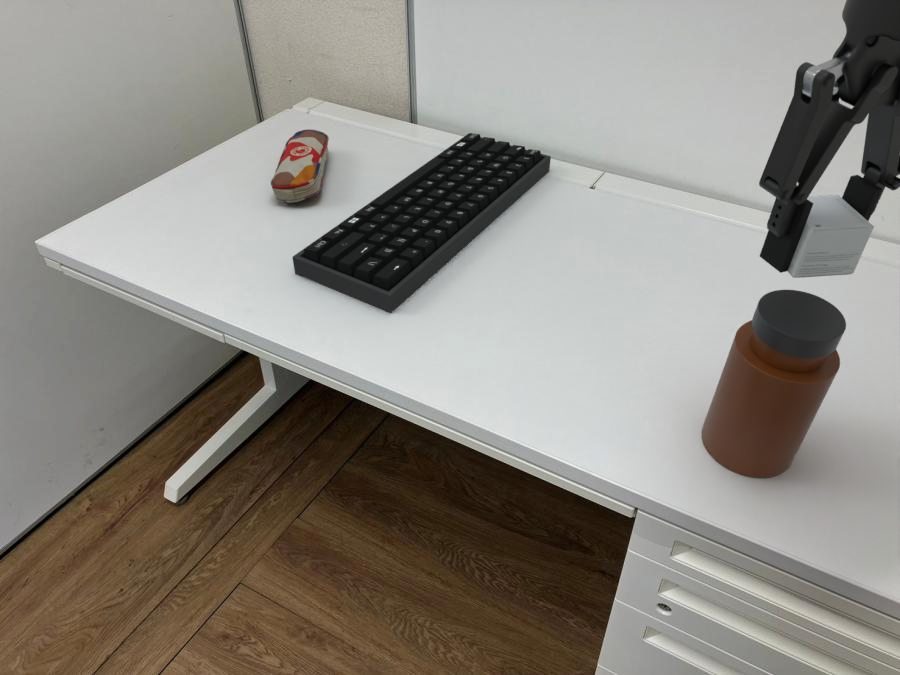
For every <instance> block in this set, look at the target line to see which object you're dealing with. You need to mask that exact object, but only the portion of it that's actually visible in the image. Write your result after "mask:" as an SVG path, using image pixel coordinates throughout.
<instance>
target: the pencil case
mask: <svg viewBox="0 0 900 675" xmlns="http://www.w3.org/2000/svg"><path fill="white" fill-rule="evenodd" d="M329 140H330V139H329V136H328V134H327V133H325V132H324V131H320V130H317V129H309V128H308V129H307V128H306V129H302V130H298V131H296V132H295V133H294V134H293V135H292V136H290V138H288V139H287V141H286V142H285V145H284V147H283V150H282V153H281V155H280V157H279V161H278V164H277V167H276V169H275V172H274V174H273V177H272V178H271V180H270V186H271V189H272V191H273V194H274V196H275V198H276V199H277V200H278V201H280V202H283V203H287V204H295V203H298V202H301V201H304V200H307V199H310V198H312V197H314V196H316V195H317V194H318V193H320V192H321V189H322V187H323V178H324V171H325V166H326V162H327V160H328V157H329V147H328V145H329Z"/></svg>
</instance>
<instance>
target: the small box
mask: <svg viewBox="0 0 900 675" xmlns="http://www.w3.org/2000/svg"><path fill="white" fill-rule="evenodd" d="M807 200H809V201H810V202H812V203H814V204H813V206H812V209H811V211H810V214H809V217H808V219H807V222H806V224H805V227H804V230H803V232H802V235H801V237H800V240H799V243H798V245H797V248H796V251H795V253H794V256H793V258H792V261H791V264H790V266H789V269H788V271H787V273H788V274H789V275H790V276H791V278H792V279H793V278H794V279H797V278H799V279H800V278H802V279H803V278H814V277H815V278H816V277H831V276H833V277H834V276H847V275H853V274H854V273H855V271H856V268H857V266H858V265H859V262H860V259H861V257H862V255H863V252H864V250H865V248H866V246H867V243H868V241H869V239H870V237H871V235H872V233H873V230H874V228H875V226H874V224H872V223H871V222H869V221H867V220H866V219H865V218H864V217H863V216H862V215H860V214H859V213H858V212H857V211H856V210H855V209H854V208H852V207H851V206H850V205H849V204H848V203H847V202H846V201H845V200H844V199H842V196H841V195H839V194H822V195H809V196H808V198H807Z"/></svg>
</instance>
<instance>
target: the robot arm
mask: <svg viewBox="0 0 900 675" xmlns="http://www.w3.org/2000/svg"><path fill="white" fill-rule="evenodd" d="M841 19H842V20H843V23H844V25H845V30H846V31H845V35H844V38H843V40H842V42H841V43H840V45H839V46H838V48H837V49H836V50H835V52H834V53H833V55H832V58H831V59H830V60H826V61H825V62H823V63H820V64H818V65H815V64H813V63H810V62H808V61H806V62H803V63H801V64H800V65H799V66H798V68H797V70H796V72H795V79H794V89H793V96H792V99H791V101H790V103H789V106H788V109H787V111H786V113H785V116H784V118H783V121H782V124H781V126H780V127H779V128H780V129H779V131H778V133H777V136H776V139H775V141H774V143H773V146H772V149H771V151H770V154H769V157H768V158H767V162H766V163H765V167H764V169H763V172H762V174H761V177H760V179H759V182H758V185H759V187H760V188H761V189H763V190H764V191H766V192H767V193H769V194H771V195H772V196H773V197H775V200H774V203H773V204H772V205H773V206H772V208H771V211H770V214H769V218H768V220H767V222H766V229H767V233H766V236H765V239H764V243H763V244H762V248H761V250H760V253H759V257H760V258H761V259H762V260H763V261H764V262H765V263H767V264H768V265H769V266H771V267H772V268H774V269H775V270H776V271H778V272H779V273H786V272H788V269H789V266H790V264H791V261H792V258H793V256H794V253H795V251H796V248H797V245H798V243H799V240H800V237H801V235H802V232H803V230H804V227H805V224H806V222H807V219H808V217H809V214H810V211H811V209H812V206H813V204H814V203H812V202H810V201H809V200H807V198H808V196H811V194H812V192H813V190H814V188H815V187H816V186H817V184H818V183H819V181H820V179H821V178H822V176H823V175H824V173H825V172H826V170H827V168H828V167H829V165H830V164H831V163H832V161H833V159H834V157H835V155H836V154H837V153H838V151H839V149H840V148H841V146H842V145H843V143H844V142H845V140H846V139H847V137H848V136H849V134H850V132H851V131H852V130H853V128H854V127H855V126H856V125H860V124H862V123H863V122H864V121H865V120H866V118H867V121H866V122H867V123H866V130H865V138H864V145H863V154H862V159H861V168H860V173H861V174H862V175H863V176H862V175H859V174H854V175H851V176H850V177H849V179H848V182H847V184H846V187H845V189H844V190H843V191H844V192H843V194H842V196H841V198H842V199H844V200H845V201H846V202H847V203H848V204H849V205H850V206H851V207H852V208H854V209H855V210H856V211H857V212H858V213H859V214H860V215H862V216H863V217H864V218H865V219H866V220H867V221H868V222H869V220H870V218H871V217H872V215H873V213H875V212H876V209H877V207H878V204H879V202H880V200H881V198H882V195H883V193H884V191H885V189H886V188H887V189H888V190H891V191H897V190H898V189H899V188H900V177H898V176H900V0H846V1H845V4H844V6H843V9H842V12H841ZM840 100H841V102H844V103H846V104H848V105H850V106H852V107H849V106H846V105H845V104H842V103H841V102H840Z"/></svg>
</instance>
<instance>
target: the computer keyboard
mask: <svg viewBox="0 0 900 675" xmlns="http://www.w3.org/2000/svg"><path fill="white" fill-rule="evenodd" d="M551 158H552V157H551V155H549V154H548V155H547V154H544V153H542V151H541V150H537V149H533V148H532V149H531V148H528V149H526V147H525V146H524V145H517V144H513V145H511V144H510V142H509V141H503V140H497V141H496V138H494V137H488V136H483V137H481V134H480V133H474V132H473V133H472V132H468V133H467V134H465V135H464V136H463V137H461V138H460V139H458V140H457V141H456V142H454V143H453V144H452V145H450V146H449V147H447V148H446V149H444V150H443V151H441V152H440V153H439V154H437V155H436V156H434V157H433V158H432V159H430V160H429V161H427V162H426V163H424V164H423V165H421V166H420V167H418V168H417V169H416V170H414V171H413V172H412V173H411V174H409V175H406V177H405V178H403V179H402V180H400V181H398V182H397V183H396V184H394V185H393V186H391V187H390V188H389V189H387V190H386V191H384V192H383V193H382V194H380V195H379V196H378V197H375V198H374V199H373V200H371V201H370V202H368V203H367V204H366V205H364V206H363V207H362V208H360V209H358V210H357V211H356V212H354V213H353V214H352V215H350V216H349V217H347V218H346V219H343V221H341V222H340V223H339V224H338V225H336V226H334V227H333V228H331V229H330V230H328V231H327V232H325V233H324V234H323V235H321V236H320V237H319V238H317V239H316V240H314V241H313V242H312V243H309V245H307V246H306V247H304V248H303V249H302V250H300V251H298V252H297V253H296V254H294V255H293V256H292V257H291V258H292V263H293V270H294V274H296V275H298V276H300V277H303V278H305V279H306V280H307V279H308V280H310V281H312V282H315V283H317V284H320V285H321V286H324V287H326V288H329V289H332V290H334V291H337V292H339V293H341V294H344V295H345V296H348V297H351V298H353V299H356V300H358V301H360V302H363V303H364V304H365V303H366V304H368V305H371V306H372V307H375V308H378V309H380V310H382V311H385V312H387V313H389V314H392V313H393V312H394V311H395V310H396V309H397V308H399V307H400V306H401V305H402V304H403V303H404V302H405V301H406V300H407V299H408V298H410V297H411V296H412V295H414V293H415V292H416V291H417V290H419V288H421V287H422V286H423V285H424V284H425V283H426V282H428V280H430V279H431V278H432V277H433V276H435V274H437V272H439V271H440V270H441V269H442V268H443V267H444V266H445V265H447V263H449V262H450V261H451V260H452V259H453V258H454V257H455V256H456V255H458V254H459V253H460V252H461V251H462V250H463V249H465V247H466V246H468V245H469V244H470V243H471V242H472V241H473V240H474V239H475V238H477V237H478V236H479V235H480V234H481V233H482V232H484V230H486V228H488V227H489V226H490V225H491V224H492V223H493V222H494V221H495V220H497V219H498V218H499V217H500V216H501V215H503V214H504V213H505V212H506V211H507V210H508V209H509V208H511V206H513V204H514V203H516V202H517V201H518V200H519V199H520V198H521V197H522V196H523V195H525V194H526V192H528V191H529V190H530V189H531V188H532V187H534V186H535V185H536V184H537V183H538V182H539V181H540V180H542V178H544V177H545V176H546V175H547V174H548V173H549V172H550V168H551Z"/></svg>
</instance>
